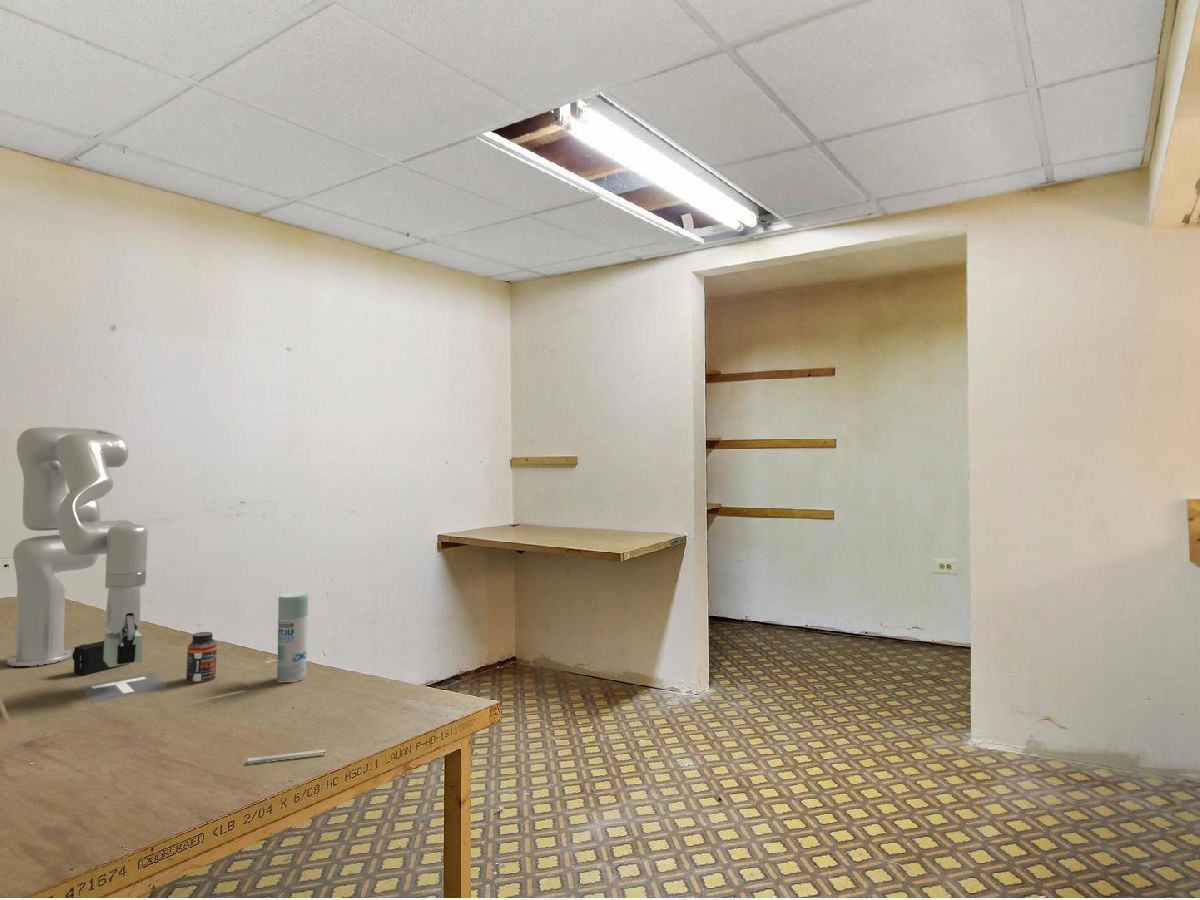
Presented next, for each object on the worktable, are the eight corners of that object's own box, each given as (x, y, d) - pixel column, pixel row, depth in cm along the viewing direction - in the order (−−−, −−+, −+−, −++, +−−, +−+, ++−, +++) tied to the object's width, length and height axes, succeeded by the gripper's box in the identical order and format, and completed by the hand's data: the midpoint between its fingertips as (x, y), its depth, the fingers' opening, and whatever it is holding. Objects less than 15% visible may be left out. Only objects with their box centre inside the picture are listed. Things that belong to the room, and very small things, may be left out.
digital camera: (116, 663, 172) (117, 636, 172) (129, 666, 170) (130, 638, 170) (70, 675, 163) (71, 646, 163) (83, 678, 160) (84, 649, 160)
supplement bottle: (202, 687, 156) (203, 637, 156) (180, 685, 157) (181, 635, 157) (221, 679, 161) (222, 631, 162) (200, 677, 163) (201, 629, 163)
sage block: (103, 660, 154) (104, 633, 154) (134, 655, 158) (135, 629, 158) (109, 667, 149) (110, 639, 149) (141, 661, 154) (142, 635, 154)
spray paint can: (312, 676, 164) (314, 593, 164) (290, 684, 158) (292, 598, 158) (293, 672, 167) (295, 591, 167) (270, 680, 161) (272, 595, 161)
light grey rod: (325, 755, 122) (325, 749, 122) (324, 757, 121) (324, 751, 121) (247, 764, 118) (247, 758, 118) (246, 767, 117) (246, 761, 117)
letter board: (79, 689, 153) (79, 686, 153) (151, 675, 163) (151, 673, 163) (91, 705, 143) (91, 702, 143) (168, 689, 153) (168, 687, 153)
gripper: (97, 575, 157) (94, 653, 157) (114, 588, 145) (110, 672, 145) (136, 571, 162) (132, 647, 162) (155, 584, 150) (151, 665, 150)
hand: (122, 658), depth 154 cm, fingers closed on sage block, 6 cm apart
